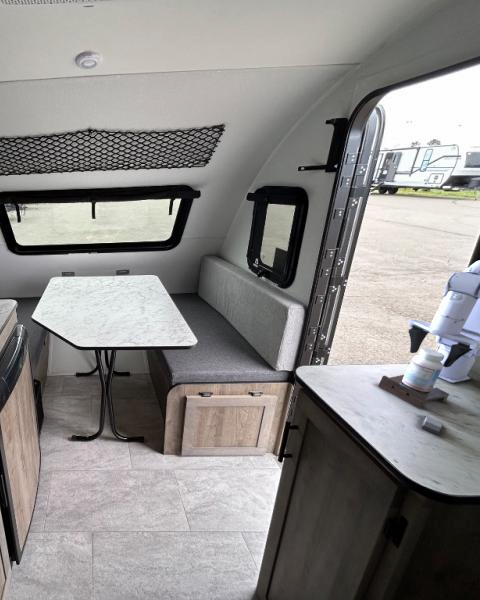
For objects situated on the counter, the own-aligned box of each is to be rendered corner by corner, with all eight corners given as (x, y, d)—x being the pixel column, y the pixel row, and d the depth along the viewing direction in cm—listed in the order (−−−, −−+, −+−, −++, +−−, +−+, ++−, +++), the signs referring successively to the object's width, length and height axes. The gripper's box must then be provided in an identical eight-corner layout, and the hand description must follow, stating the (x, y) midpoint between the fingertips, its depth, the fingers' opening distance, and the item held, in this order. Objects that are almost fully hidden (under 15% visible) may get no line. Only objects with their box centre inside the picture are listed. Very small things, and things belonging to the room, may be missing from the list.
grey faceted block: (423, 417, 84) (427, 411, 84) (439, 424, 82) (443, 417, 81) (421, 428, 81) (424, 421, 80) (438, 435, 79) (442, 428, 78)
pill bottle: (417, 381, 96) (434, 347, 92) (436, 393, 90) (455, 359, 86) (395, 378, 97) (411, 345, 92) (413, 391, 91) (431, 357, 87)
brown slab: (403, 380, 100) (408, 370, 99) (445, 401, 92) (451, 390, 90) (377, 386, 97) (382, 375, 96) (418, 408, 88) (424, 397, 87)
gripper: (409, 307, 93) (391, 348, 98) (480, 329, 80) (454, 375, 85) (425, 305, 95) (406, 345, 100) (496, 326, 82) (470, 371, 87)
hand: (429, 359), depth 93 cm, fingers open, 7 cm apart
